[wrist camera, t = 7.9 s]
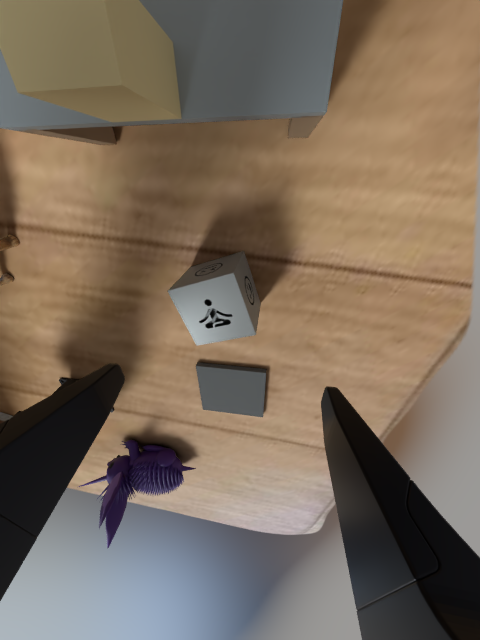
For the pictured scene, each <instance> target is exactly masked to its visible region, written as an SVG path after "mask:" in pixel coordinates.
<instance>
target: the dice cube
mask: <svg viewBox="0 0 480 640" xmlns="http://www.w3.org/2000/svg"><path fill="white" fill-rule="evenodd" d="M168 293H169V295H170V297H171V299H172V300H173V302H174V304H175V306H176V308H177V310H178V312H179V313H180V315H181V317H182V319H183V321H184V323H185V325H186V327H187V328H188V330H189V332H190V334H191V336H192V338H193V340H194V342H195V343H196V345H202V344H208V343H213V342H219V341H225V340H230V339H236V338H241V337H247V336H252V335H256V331H257V324H258V318H259V311H260V305H261V303H260V299H259V296H258V293H257V290H256V287H255V284H254V281H253V277H252V274H251V271H250V268H249V265H248V262H247V259H246V255H245V252H244V251H242V252H239V253H235V254H232V255H229V256H225V257H222V258H219V259H215V260H212V261H209V262H205V263H202V264H199V265H195V266H192V267H190V268H189V269H188V270H187V271H186V272H185V273H184V274H183V275H182V276H181V278H180V279H179V280H178V281H177V282H176V283H175V284H174V285H173V286H172V287H171V288H170V289H169V290H168Z"/></svg>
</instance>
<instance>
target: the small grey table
mask: <svg viewBox="0 0 480 640" xmlns="http://www.w3.org/2000/svg"><path fill="white" fill-rule="evenodd" d="M342 5H343V0H0V128H3V129H9V130H15V131H21V132H26V133H32V134H38V135H44V136H50V137H56V138H62V139H68V140H74V141H80V142H86V143H92V144H98V145H114V144H116V139H115V135H114V131H113V127H112V126H132V125H153V124H174V123H196V122H217V121H239V120H260V119H281V118H289V129H288V138H308V136H309V135H310V134H311V132H312V131H313V130H314V128H315V127H316V126H317V124H318V123H319V122H320V120H321V119H322V117H323V116H324V115H325V113H326V112H327V106H328V99H329V93H330V86H331V79H332V72H333V66H334V59H335V52H336V45H337V38H338V32H339V25H340V18H341V11H342Z"/></svg>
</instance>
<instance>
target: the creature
mask: <svg viewBox="0 0 480 640" xmlns="http://www.w3.org/2000/svg"><path fill="white" fill-rule="evenodd" d="M122 442H123V441H122ZM124 443H125V444H122V445H126V447H125V448H128V449H129V455H130V456H128V455H124V456H120V455H118V456H117V458H114V459H113V460H112V461H110V462H108V464H107V465H108V469H107V475H106V476H103V477H101V478H99V479H96V480H94V481H91V482H89V483H86V484H84V485H81V486H85V485H89V484H93V483H97V482H101V481H105V480H107V481H108V483H109V485H108V486H107V488H106V489H105V490H104V491H103V492H102V493H101V495H102V494H103V493H104V492H105V491H106V490H107V491H106V493H105V495H104V496H103V497H104V498H103V502H102V506H101V511H100V522H99V528H100V526H101V525H102V523H103V521H104V519H105V517H106V534H107V545H108V548H109V545H110V544H111V541H112V539H113V537H114V535H115V533H116V531H117V529H118V527H119V525H120V522H121V520H122V517H123V514H124V511H125V508H126V504H127V499H128V497H129V494H130V492H131V494H133V492H134V490H136V491H137V492H138V491H139V490H140V492H143V491H144V493H145V491H146V494H147V492H148V495H149V493H150V491H151V494H152V491H153V494H154V492H155V495H156V492H157V496H158V493H159V495H160V493H161V492H162V494H163V491H164V494H165V491H166V492H167V490H168V494H169V490H171V489H172V492H173V490H174V489H175V488H176V487H177V485H178V486H179V485H180V484H181V485H182V483H181V482H182V481H183V480H184V479H183V475H182V471H186V470H192V469H196V468H191V467H186V466H183V465H182V463H181V461H180V459H179V458H177V457H176V454H175V452H174V451H173V450H172V449H170V448H165V447H162V446H157V445H147V446H143V447H144V448H143V449H145V450H144V451H142V452H140V450H139V447H138V443H137V442H136V441H134V440H128V441H127V442H124ZM140 446H141V445H140ZM183 482H184V481H183ZM79 487H80V486H79ZM132 487H133V488H134V490H133V488H132ZM140 488H141V489H140ZM138 489H139V490H138ZM141 490H142V491H141ZM148 490H149V491H148ZM132 491H133V492H132ZM131 494H130V497H131ZM134 494H135V492H134ZM151 494H150V496H151ZM101 495H100V496H101ZM143 495H144V494H143ZM133 496H134V495H133ZM134 498H135V497H134ZM131 499H132V498H131ZM129 500H130V498H129Z"/></svg>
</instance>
